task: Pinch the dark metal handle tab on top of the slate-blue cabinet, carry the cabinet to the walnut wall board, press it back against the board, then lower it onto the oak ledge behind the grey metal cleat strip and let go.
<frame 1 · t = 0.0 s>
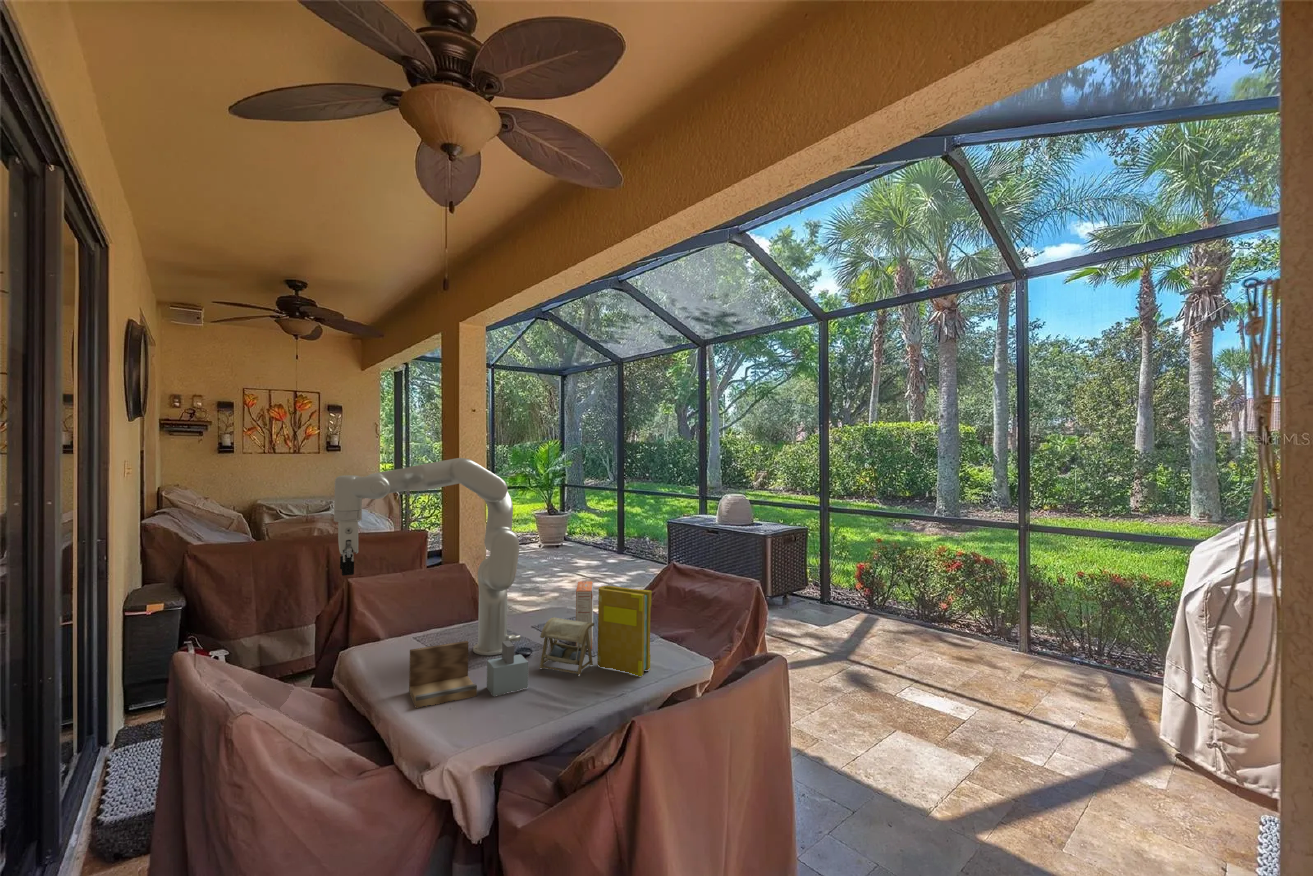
hand: (346, 571, 179), 31 cm above the table, tool pointing down, fingers open, 9 cm apart
cracker box: (584, 644, 208), on the table
cleat board: (443, 695, 164), on the table
swing bench: (566, 669, 186), on the table
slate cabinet: (507, 688, 170), on the table
book: (621, 669, 186), on the table
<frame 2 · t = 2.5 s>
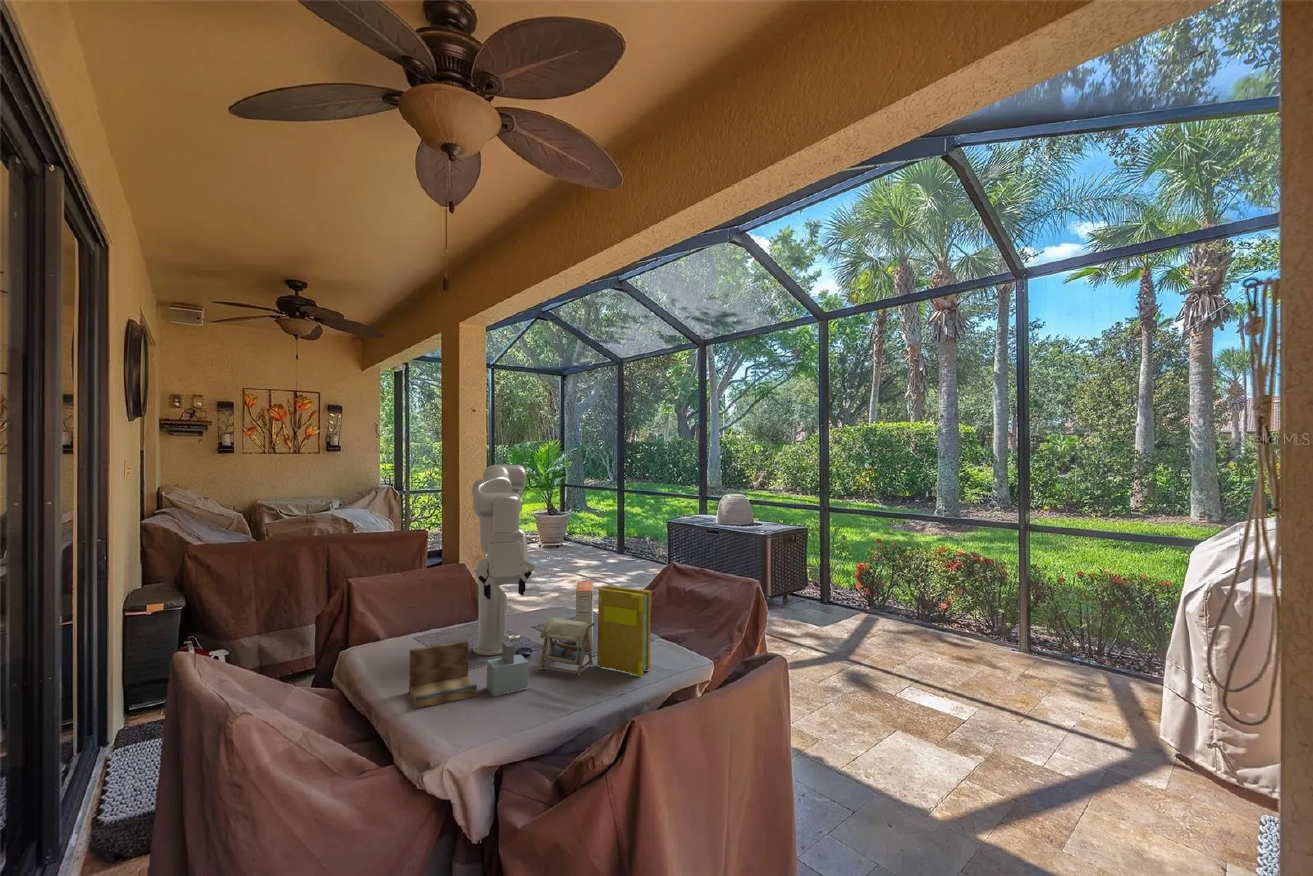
hand: (504, 596, 170), 27 cm above the table, tool pointing down, fingers open, 9 cm apart
nothing on the table moved.
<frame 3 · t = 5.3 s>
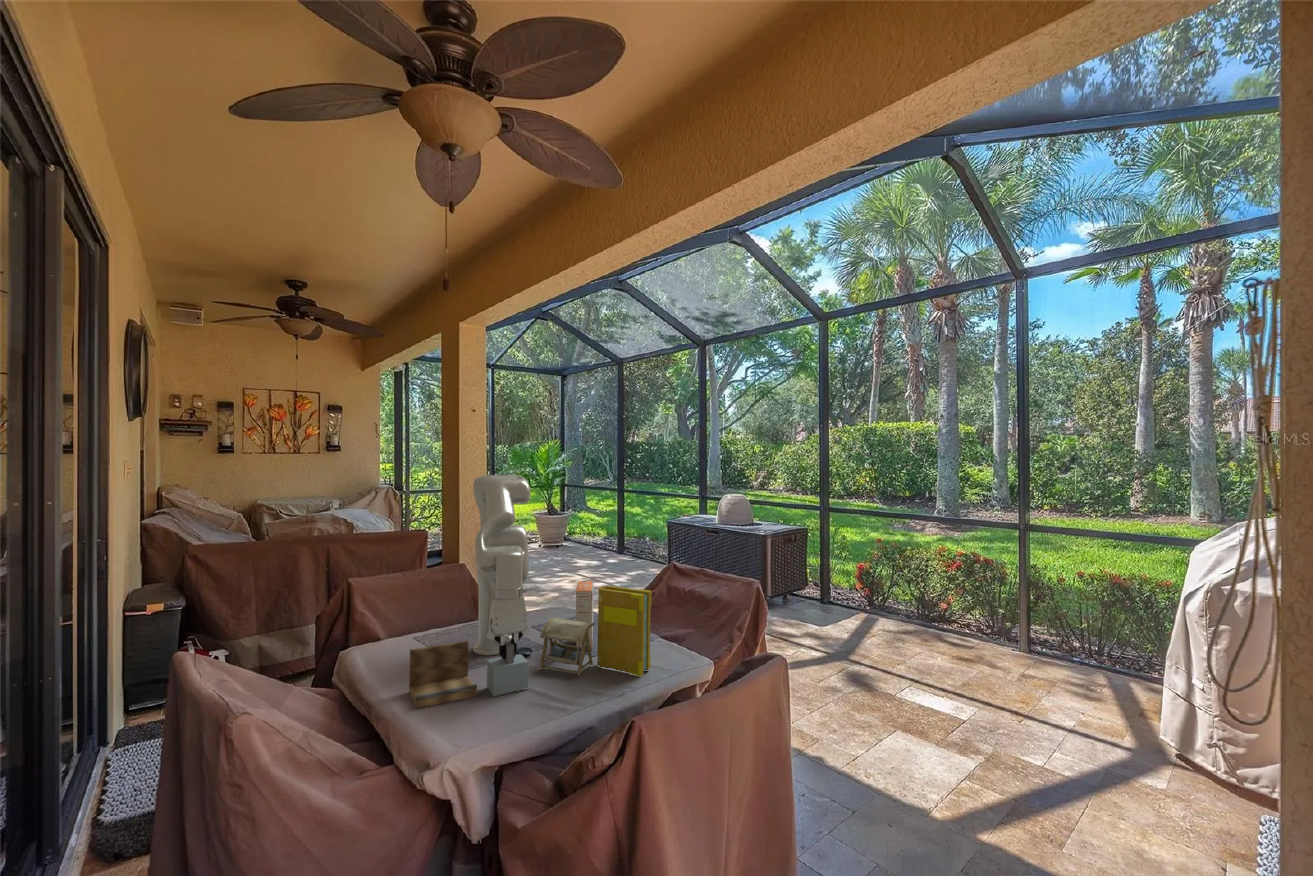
hand: (507, 656, 170), 9 cm above the table, tool pointing down, fingers closed on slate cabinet
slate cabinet: (507, 688, 170), on the table, touching gripper
everything else where it was.
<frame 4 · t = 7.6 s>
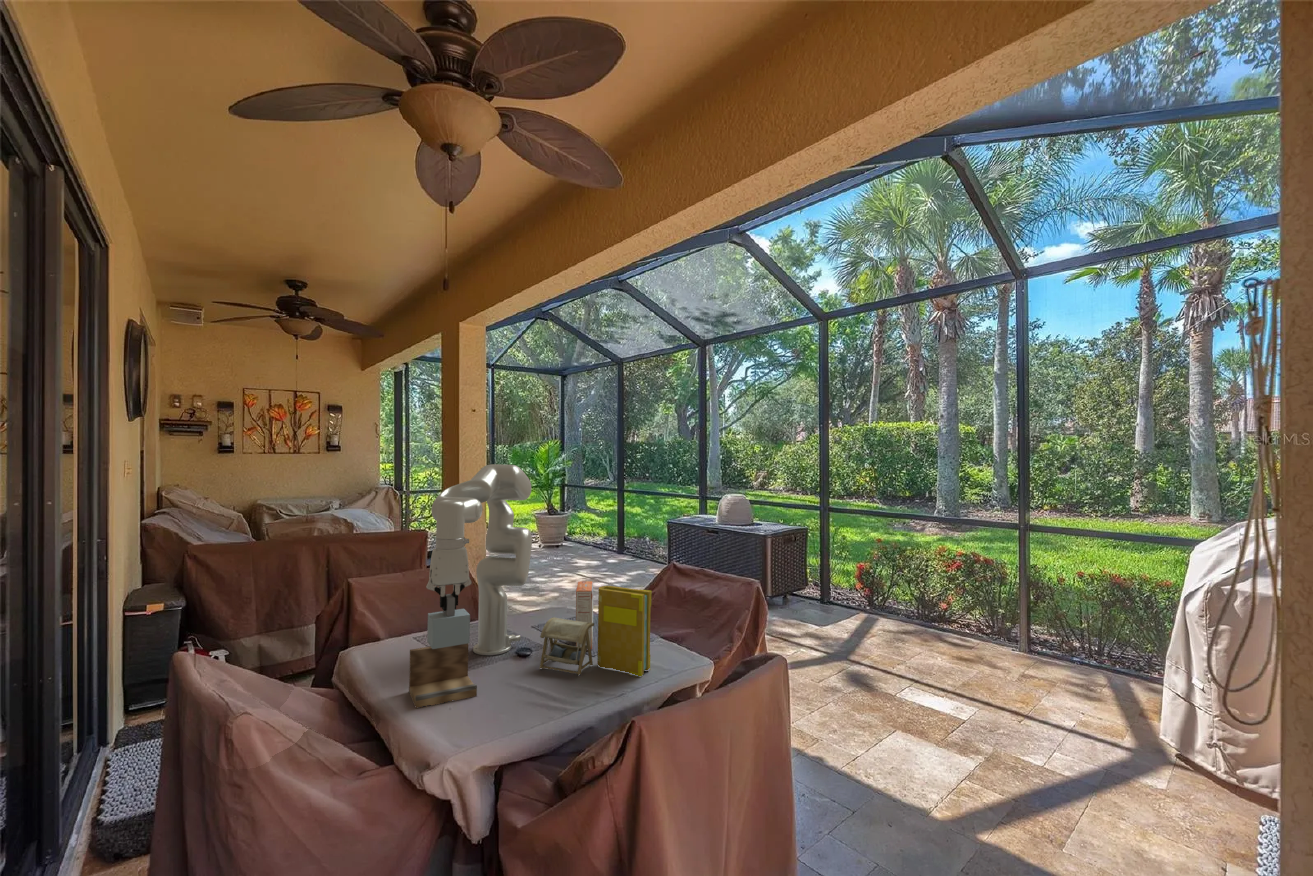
hand: (448, 608, 165), 24 cm above the table, tool pointing down, fingers closed on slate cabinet
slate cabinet: (448, 642, 165), point 15 cm above the table, touching gripper
everything else where it was.
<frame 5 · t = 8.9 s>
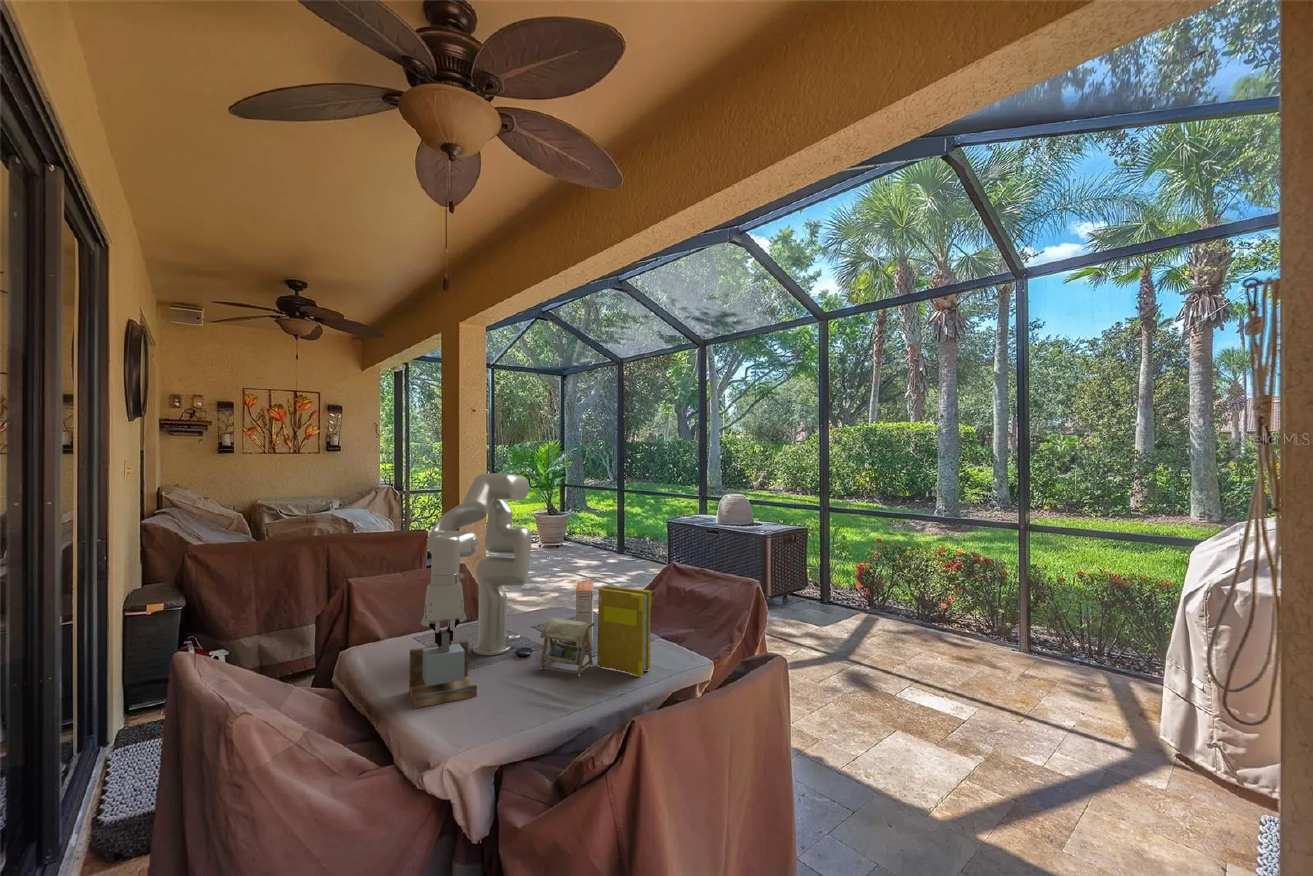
hand: (443, 644, 165), 14 cm above the table, tool pointing down, fingers closed on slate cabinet
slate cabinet: (443, 678, 165), point 5 cm above the table, touching gripper
everything else where it was.
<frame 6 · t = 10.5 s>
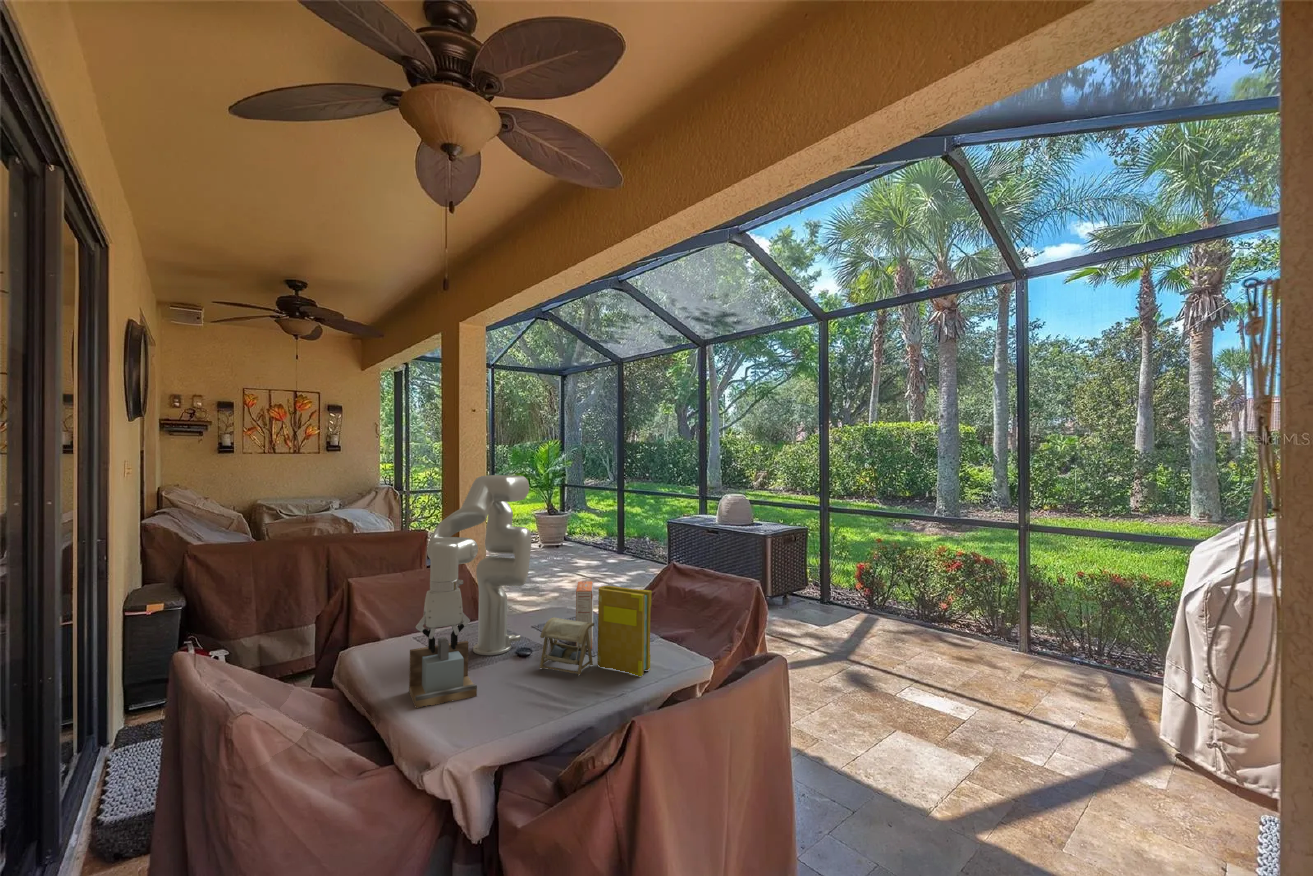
hand: (442, 649, 166), 12 cm above the table, tool pointing down, fingers open, 4 cm apart
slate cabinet: (442, 685, 166), point 2 cm above the table, touching cleat board
everything else where it was.
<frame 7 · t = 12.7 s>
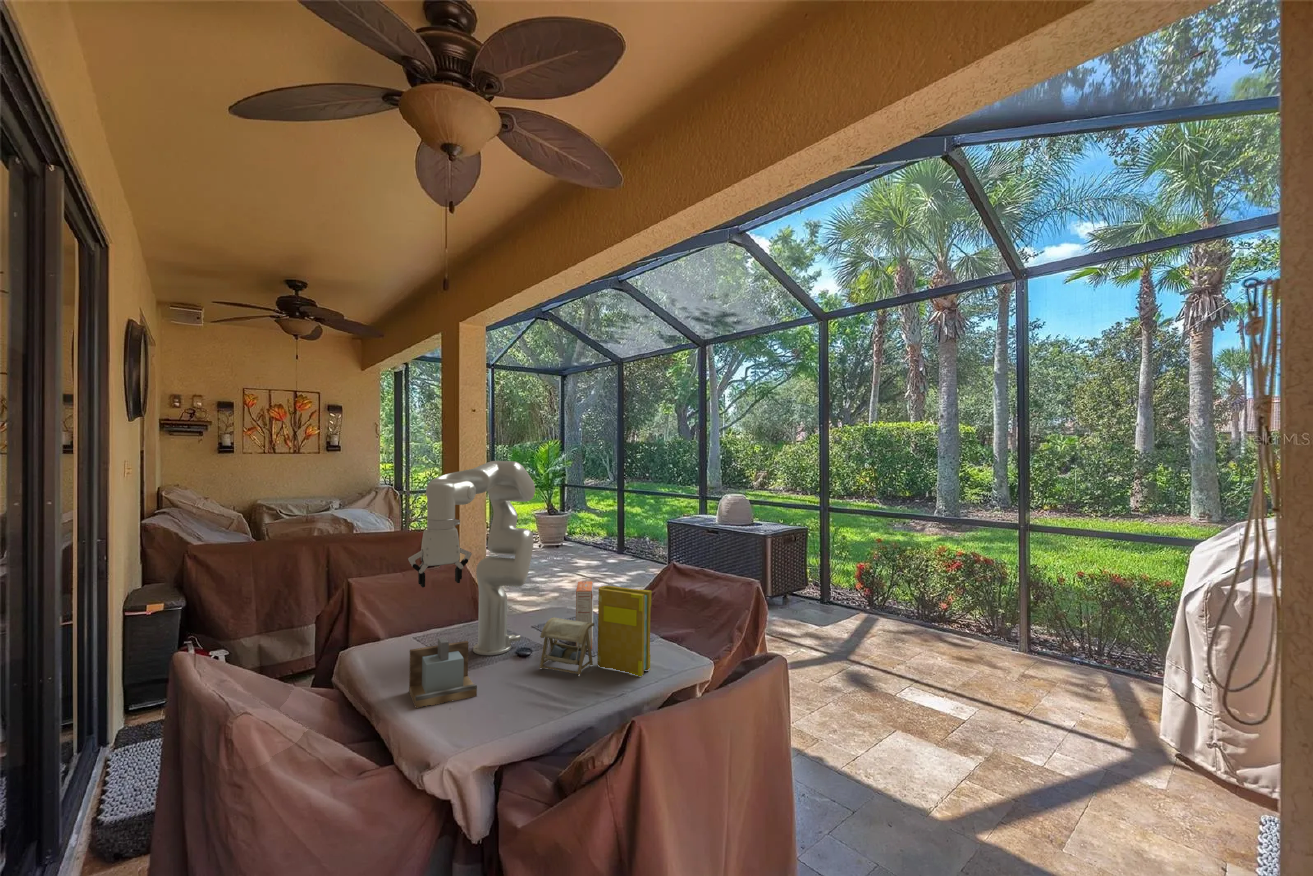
hand: (440, 584, 168), 30 cm above the table, tool pointing down, fingers open, 9 cm apart
nothing on the table moved.
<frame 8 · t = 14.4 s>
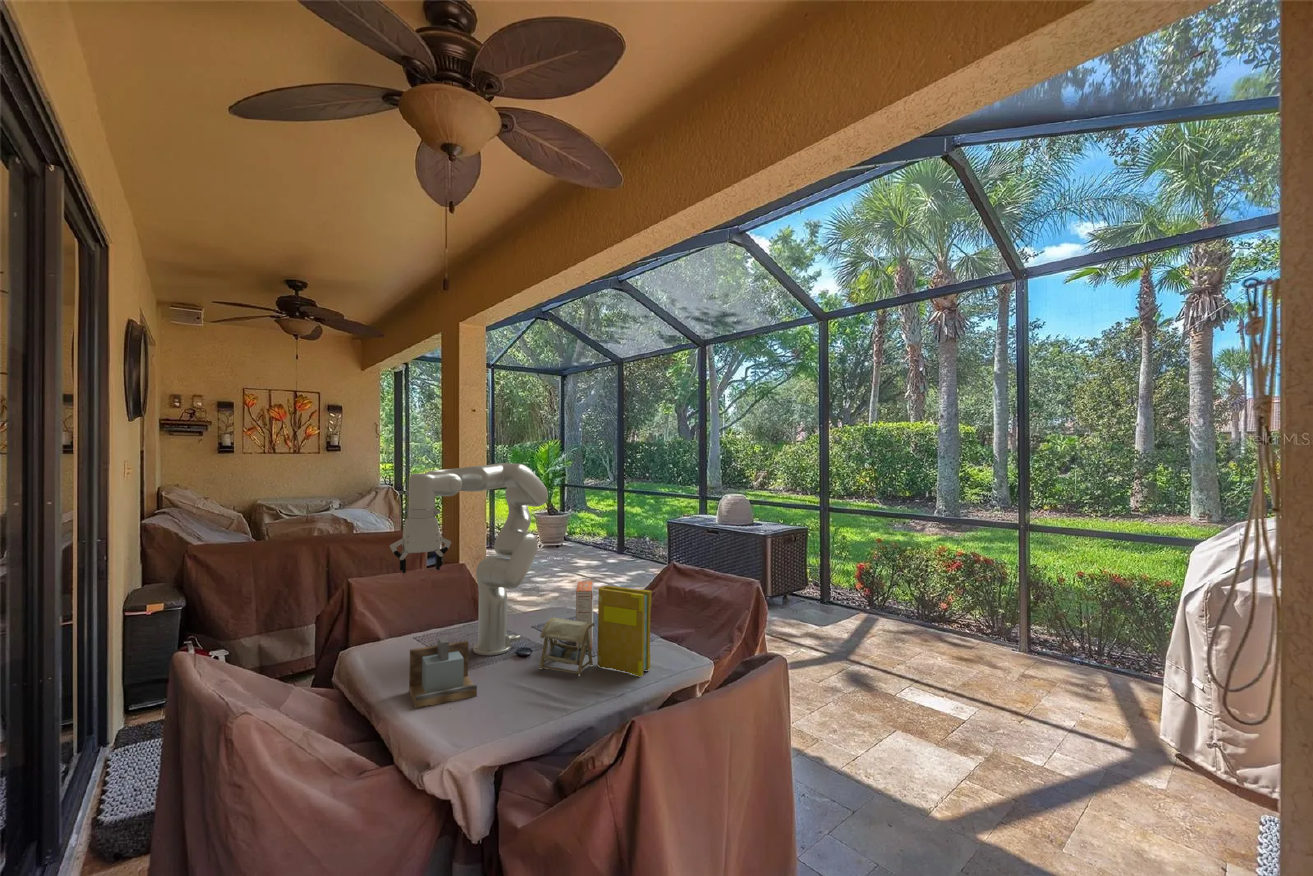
hand: (420, 570, 177), 32 cm above the table, tool pointing down, fingers open, 9 cm apart
nothing on the table moved.
at the end: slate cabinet 0.9 cm from the target spot on the cleat board, point 2.0 cm above the cleat board's base; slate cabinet tilted 0°; the gripper is holding nothing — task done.
